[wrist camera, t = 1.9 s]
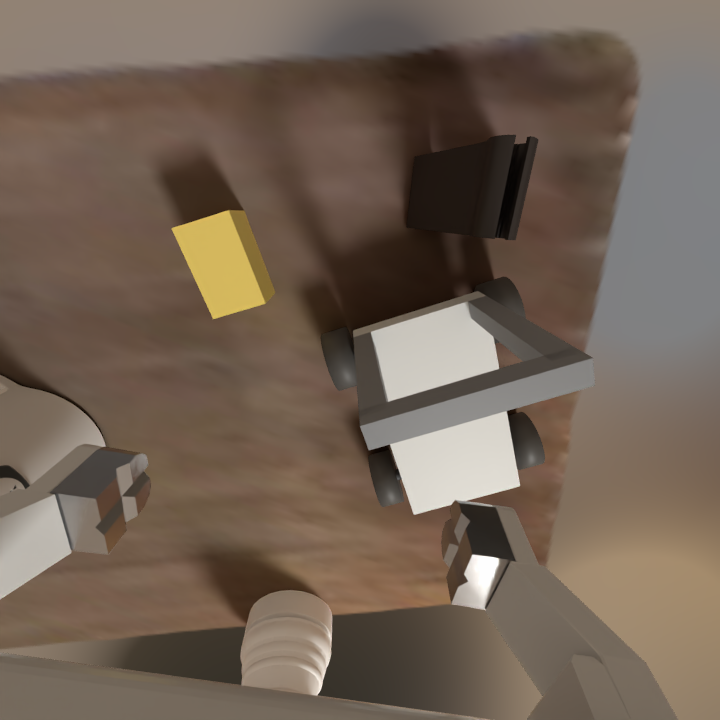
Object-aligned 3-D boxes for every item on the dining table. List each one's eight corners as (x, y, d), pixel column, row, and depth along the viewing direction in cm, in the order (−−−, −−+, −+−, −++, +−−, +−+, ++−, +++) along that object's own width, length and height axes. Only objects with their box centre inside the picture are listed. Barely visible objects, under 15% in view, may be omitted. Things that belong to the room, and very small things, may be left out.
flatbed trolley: (522, 442, 45) (656, 615, 25) (380, 481, 46) (406, 673, 27) (493, 272, 36) (660, 338, 17) (322, 326, 38) (300, 443, 19)
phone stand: (405, 227, 35) (434, 233, 23) (414, 156, 32) (450, 127, 21) (495, 235, 35) (565, 245, 24) (510, 166, 33) (594, 142, 22)
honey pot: (250, 643, 58) (212, 817, 41) (247, 589, 53) (203, 761, 36) (330, 643, 59) (324, 814, 42) (334, 590, 54) (330, 759, 37)
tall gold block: (229, 305, 37) (213, 319, 32) (195, 226, 34) (171, 228, 29) (275, 292, 37) (265, 303, 32) (244, 210, 34) (228, 210, 29)
